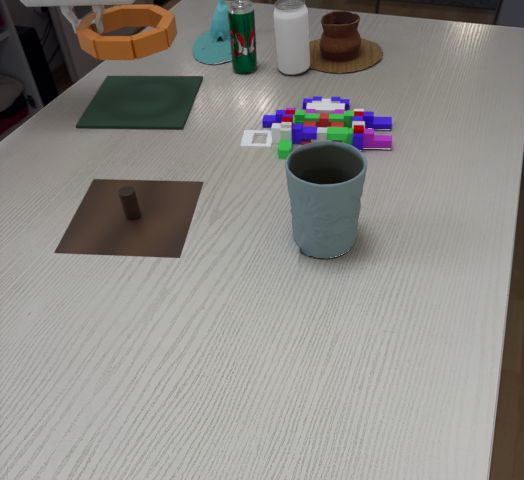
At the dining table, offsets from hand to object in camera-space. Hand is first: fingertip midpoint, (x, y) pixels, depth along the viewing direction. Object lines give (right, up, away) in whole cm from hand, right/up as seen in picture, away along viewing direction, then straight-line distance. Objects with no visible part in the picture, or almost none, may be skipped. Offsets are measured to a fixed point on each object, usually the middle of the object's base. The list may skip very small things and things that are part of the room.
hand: (89, 32), depth 95 cm
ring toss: (+11, -36, -15) cm, 41 cm away
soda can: (+27, +1, +16) cm, 31 cm away
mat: (+7, -8, +9) cm, 14 cm away
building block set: (+40, -18, -1) cm, 44 cm away
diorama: (+21, +11, +24) cm, 34 cm away
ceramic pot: (+47, +6, +18) cm, 50 cm away
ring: (+7, -1, 0) cm, 7 cm away
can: (+37, +1, +15) cm, 40 cm away
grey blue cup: (+39, -40, -19) cm, 59 cm away
